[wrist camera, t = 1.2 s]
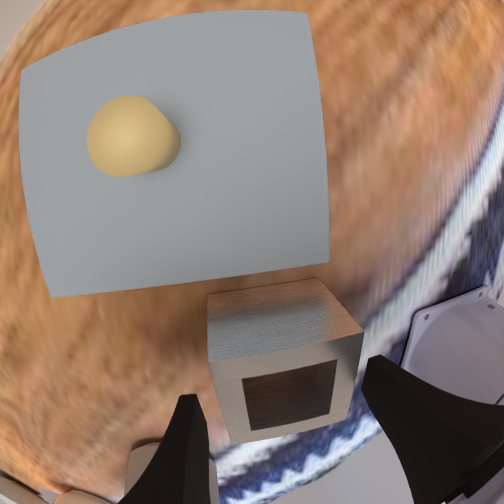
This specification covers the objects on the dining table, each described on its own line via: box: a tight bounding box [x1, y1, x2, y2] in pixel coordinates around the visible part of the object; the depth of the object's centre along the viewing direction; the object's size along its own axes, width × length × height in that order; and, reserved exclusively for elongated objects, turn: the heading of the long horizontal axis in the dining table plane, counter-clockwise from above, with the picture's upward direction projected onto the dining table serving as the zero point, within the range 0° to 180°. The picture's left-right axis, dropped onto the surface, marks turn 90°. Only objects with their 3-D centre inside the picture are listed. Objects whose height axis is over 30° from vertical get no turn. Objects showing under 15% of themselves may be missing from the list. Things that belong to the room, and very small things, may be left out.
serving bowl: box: [0, 476, 49, 504], centre depth 20 cm, size 21×21×7 cm
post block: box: [19, 10, 329, 298], centre depth 8 cm, size 14×12×5 cm
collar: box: [207, 278, 364, 444], centre depth 12 cm, size 6×6×5 cm
